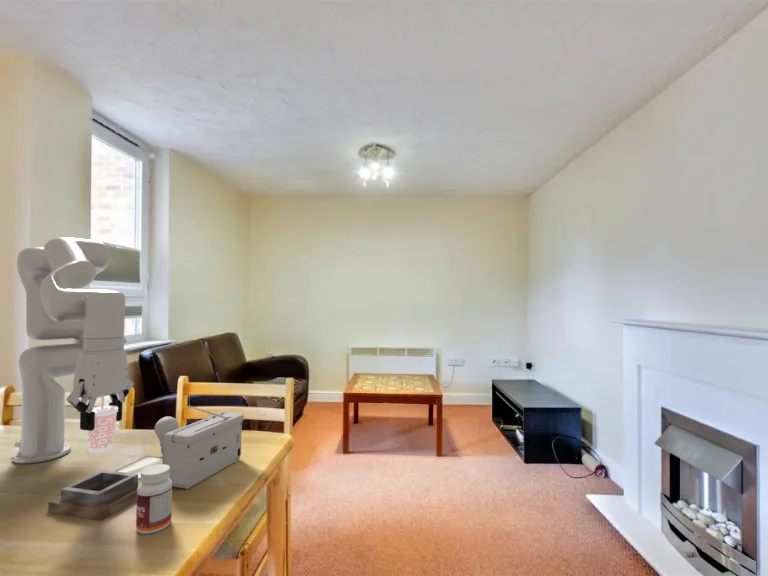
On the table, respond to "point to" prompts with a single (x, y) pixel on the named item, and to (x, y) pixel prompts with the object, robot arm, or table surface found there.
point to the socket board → (102, 491)
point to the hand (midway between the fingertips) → (101, 424)
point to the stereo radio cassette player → (202, 448)
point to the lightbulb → (165, 428)
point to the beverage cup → (102, 428)
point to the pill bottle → (154, 499)
